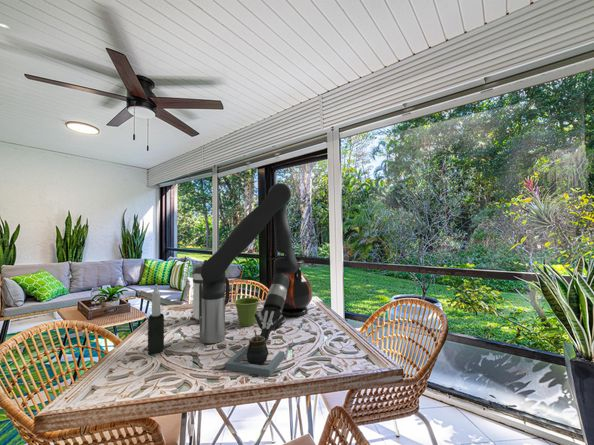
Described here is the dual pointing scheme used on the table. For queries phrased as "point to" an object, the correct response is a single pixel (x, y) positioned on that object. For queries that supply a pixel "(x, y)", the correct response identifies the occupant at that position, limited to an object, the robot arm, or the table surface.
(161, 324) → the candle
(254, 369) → the frame
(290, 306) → the amphora vase
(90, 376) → the table surface
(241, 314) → the plant pot
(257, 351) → the mate gourd
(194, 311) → the coffee press
